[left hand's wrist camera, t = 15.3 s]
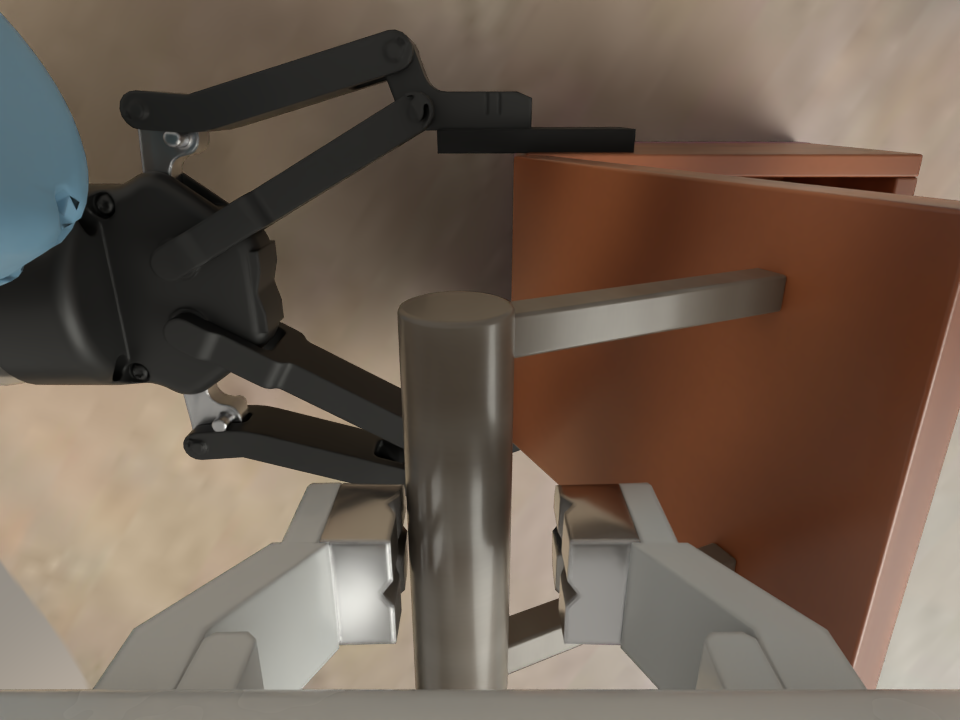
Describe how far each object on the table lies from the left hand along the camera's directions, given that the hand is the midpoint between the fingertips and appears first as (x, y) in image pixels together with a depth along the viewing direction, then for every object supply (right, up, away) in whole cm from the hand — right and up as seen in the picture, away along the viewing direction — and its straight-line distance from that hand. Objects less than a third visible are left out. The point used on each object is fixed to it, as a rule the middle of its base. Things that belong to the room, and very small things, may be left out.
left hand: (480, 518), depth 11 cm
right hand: (+5, +5, +14) cm, 16 cm away
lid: (+5, +2, +6) cm, 8 cm away
